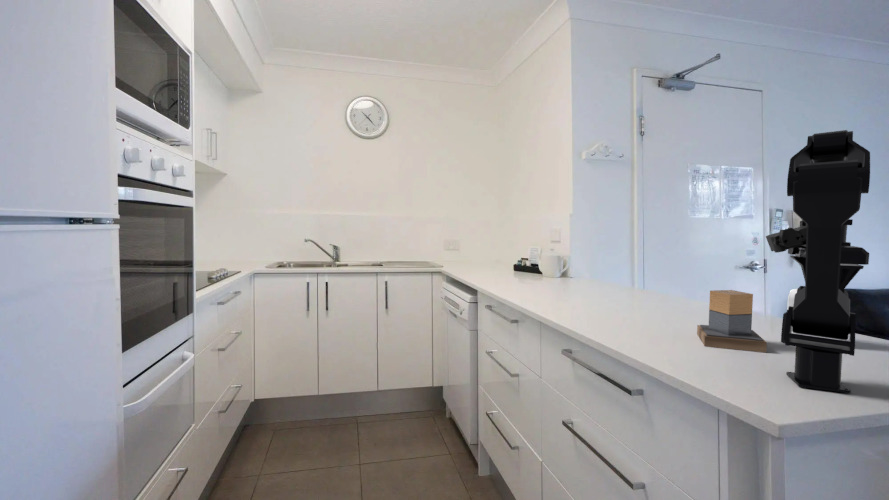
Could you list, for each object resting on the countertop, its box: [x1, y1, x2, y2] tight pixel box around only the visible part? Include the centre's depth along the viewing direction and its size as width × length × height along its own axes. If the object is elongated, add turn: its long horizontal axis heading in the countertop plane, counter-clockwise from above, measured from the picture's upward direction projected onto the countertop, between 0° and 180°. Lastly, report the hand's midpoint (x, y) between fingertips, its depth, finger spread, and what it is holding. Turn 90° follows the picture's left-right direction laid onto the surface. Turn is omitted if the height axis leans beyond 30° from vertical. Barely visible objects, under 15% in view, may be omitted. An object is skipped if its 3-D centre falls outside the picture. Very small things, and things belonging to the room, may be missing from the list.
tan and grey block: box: [708, 289, 754, 335], centre depth 92 cm, size 6×6×9 cm
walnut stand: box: [696, 324, 768, 353], centre depth 93 cm, size 11×11×2 cm
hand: (820, 297), depth 77 cm, fingers open, 9 cm apart
